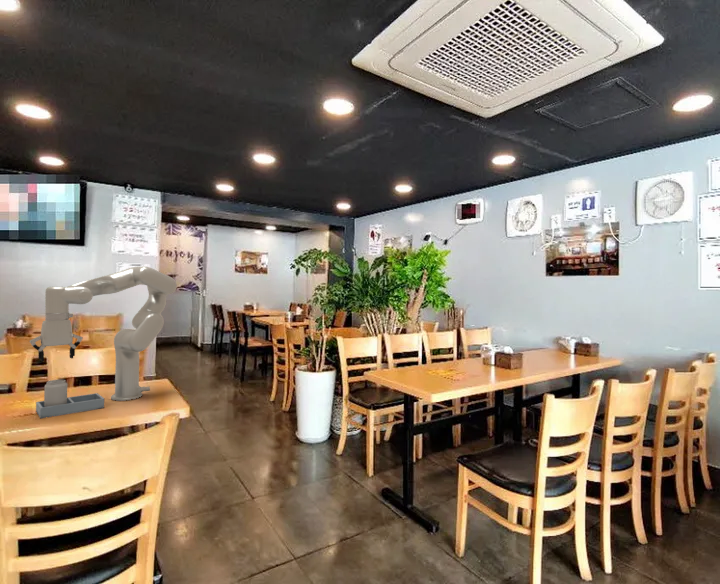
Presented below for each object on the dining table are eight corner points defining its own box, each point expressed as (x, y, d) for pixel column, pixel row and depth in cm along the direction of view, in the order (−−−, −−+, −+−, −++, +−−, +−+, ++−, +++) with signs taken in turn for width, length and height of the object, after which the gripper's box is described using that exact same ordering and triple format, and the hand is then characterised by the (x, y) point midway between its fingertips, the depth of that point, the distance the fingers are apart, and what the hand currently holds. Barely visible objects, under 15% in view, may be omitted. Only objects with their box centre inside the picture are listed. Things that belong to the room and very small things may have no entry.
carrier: (97, 402, 181) (97, 393, 180) (104, 407, 173) (104, 398, 173) (36, 411, 165) (36, 401, 165) (40, 418, 158) (40, 408, 157)
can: (60, 413, 162) (61, 383, 162) (39, 413, 161) (40, 383, 161) (70, 407, 170) (71, 378, 170) (50, 407, 168) (51, 378, 168)
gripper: (80, 315, 174) (80, 355, 174) (28, 317, 161) (28, 360, 162) (84, 317, 168) (84, 358, 169) (31, 319, 156) (31, 363, 156)
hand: (57, 359), depth 165 cm, fingers open, 9 cm apart
